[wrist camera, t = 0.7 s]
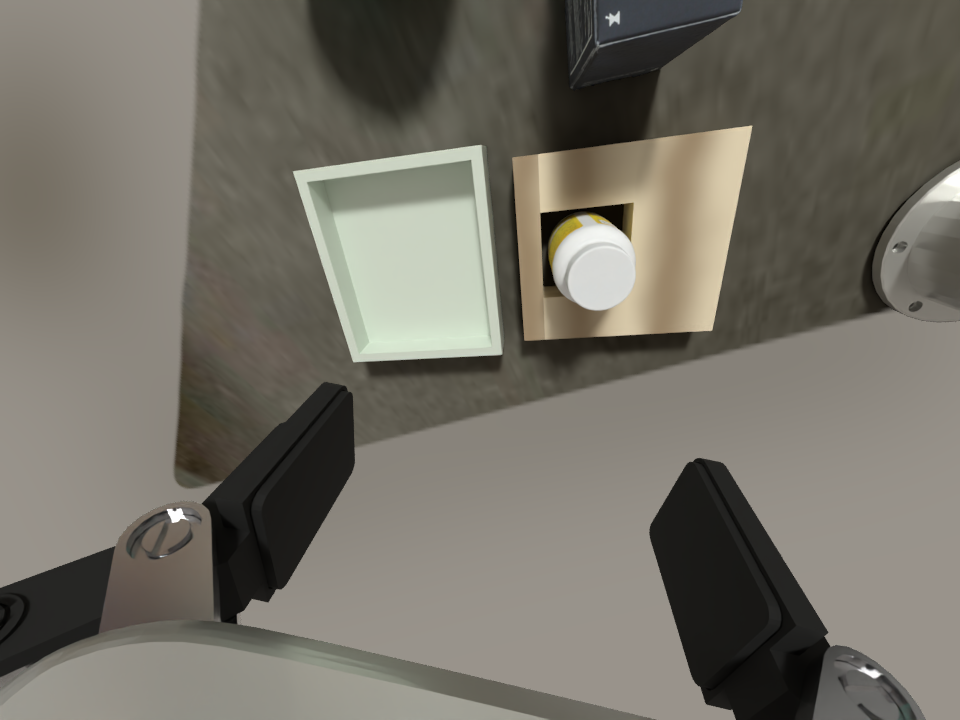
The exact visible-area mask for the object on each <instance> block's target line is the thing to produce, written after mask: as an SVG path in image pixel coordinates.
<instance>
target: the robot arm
mask: <svg viewBox="0 0 960 720" xmlns="http://www.w3.org/2000/svg"><path fill="white" fill-rule="evenodd" d="M872 280H873V283H874V286H875V289H876V292H877V294H878V295H879V296H880V298H881V299H882V301H883V302H884V303H885V304H887V305H888V306H889V307H890V308H892V309H893V310H895V311H897V312H900V313H902V314H904V315H906V316H909V317H912V318H915V319H918V320H922V321H930V322H952V321H960V161H958V162H956V163H955V164H953V165H951V166H949V167H947V168H946V169H944V170H943V171H942V172H940V173H939V174H938V175H936V176H935V177H934V178H932V179H931V180H929V181H928V182H927V183H925V184H924V185H923V186H922V187H921V188H920V189H919V190H918V191H917V192H916V193H915V194H913V195H912V196H911V197H910V198H909V199H908V200H907V201H906V203H905V204H904V205H903V206H902V207H901V208H900V210H899V211H898V212H897V213H896V214H895V215H894V217H893V218H892V220H891V221H890V223H889V225H888V226H887V228H886V229H885V231H884V232H883V234H882V236H881V239H880V241H879V243H878V246H877V248H876V251H875V255H874V260H873V264H872ZM354 464H355V453H354V419H353V395H352V393H351V392H348V391H347V388H346V386H343V385H338V384H333V383H328V382H324V383H323V384H321V385H320V387H319V388H318V389H317V390H316V391H315V392H314V393H313V394H312V395H311V396H310V397H309V398H308V399H307V400H306V401H305V402H304V403H303V404H302V405H301V406H300V408H299V409H298V410H297V411H296V412H295V413H294V414H293V415H292V416H291V417H290V418H289V419H288V420H287V421H286V422H284V423H281V424H279V425H278V426H277V427H276V428H275V429H274V430H273V431H272V432H271V433H270V434H269V435H268V436H267V437H266V438H265V439H264V440H263V441H262V442H261V443H260V444H259V445H258V446H257V447H256V448H255V449H254V450H253V451H252V452H251V453H250V454H249V455H248V456H247V457H246V458H245V459H244V460H243V462H242V463H241V464H240V465H239V466H238V467H237V468H236V469H235V470H234V471H233V472H232V473H231V474H230V475H229V476H228V477H227V478H226V479H225V480H224V481H223V482H222V483H221V484H220V485H219V486H218V487H217V488H216V489H215V490H214V492H212V493H211V495H210V496H209V497H208V498H207V499H206V500H205V501H204V502H203V503H202V504H200V503H197V502H194V501H180V502H175V503H170V504H166V505H163V506H161V507H158V508H155V509H153V510H151V511H150V512H148V513H146V514H144V515H142V516H141V517H139V518H138V519H137V520H136V521H134V522H133V523H132V524H131V525H130V526H128V527H127V529H126V530H125V531H124V532H123V534H122V535H121V536H120V537H119V539H118V542H117V544H116V546H114V547H112V548H109V549H106V550H103V551H101V552H98V553H95V554H92V555H90V556H87V557H84V558H81V559H79V560H76V561H73V562H70V563H68V564H65V565H62V566H59V567H57V568H54V569H52V570H48V571H46V572H43V573H40V574H37V575H35V576H32V577H29V578H26V579H24V580H21V581H18V582H15V583H13V584H10V585H7V586H5V587H2V588H0V720H655V719H651V718H647V717H643V716H638V715H634V714H630V713H626V712H622V711H618V710H613V709H609V708H605V707H601V706H597V705H593V704H589V703H585V702H580V701H576V700H572V699H568V698H563V697H559V696H555V695H551V694H547V693H542V692H538V691H534V690H530V689H525V688H521V687H517V686H513V685H508V684H504V683H500V682H496V681H492V680H487V679H483V678H479V677H475V676H470V675H466V674H462V673H457V672H453V671H448V670H445V669H440V668H436V667H432V666H427V665H423V664H418V663H414V662H410V661H405V660H401V659H397V658H392V657H388V656H384V655H379V654H375V653H371V652H366V651H362V650H358V649H354V648H349V647H345V646H341V645H336V644H332V643H328V642H323V641H318V640H313V639H308V638H304V637H298V636H294V635H289V634H285V633H280V632H275V631H270V630H265V629H261V628H256V627H249V626H243V625H241V617H240V616H241V615H240V612H242V611H244V610H245V608H246V607H247V605H248V604H249V602H250V601H251V599H256V600H260V601H264V602H269V600H270V599H271V597H272V595H273V594H274V592H275V590H276V589H282V588H284V586H285V585H286V584H287V582H288V581H289V579H290V577H291V576H292V574H293V572H294V571H295V569H296V567H297V565H298V564H299V562H300V560H301V559H302V557H303V555H304V554H305V552H306V550H307V548H308V547H309V545H310V543H311V541H312V540H313V538H314V536H315V535H316V533H317V531H318V530H319V528H320V526H321V524H322V523H323V521H324V520H325V518H326V516H327V514H328V513H329V511H330V509H331V508H332V506H333V504H334V502H335V501H336V499H337V497H338V496H339V494H340V492H341V490H342V489H343V487H344V485H345V484H346V482H347V480H348V479H349V477H350V475H351V473H352V471H353V468H354ZM649 533H650V539H651V543H652V546H653V549H654V553H655V556H656V559H657V562H658V566H659V569H660V573H661V576H662V579H663V582H664V586H665V589H666V592H667V596H668V599H669V603H670V605H671V609H672V612H673V615H674V619H675V622H676V625H677V629H678V632H679V636H680V639H681V642H682V646H683V649H684V652H685V656H686V659H687V662H688V666H689V669H690V672H691V675H692V678H693V680H694V682H695V683H696V684H697V685H698V686H700V687H701V690H702V693H703V696H704V700H705V703H706V704H707V705H711V706H716V707H720V708H724V709H728V710H731V709H732V710H733V712H734V715H735V718H736V720H926V719H925V717H924V715H923V713H922V712H921V710H920V708H919V706H918V705H917V703H916V702H915V701H914V699H913V698H912V697H911V695H910V694H909V693H908V692H907V690H906V689H905V688H904V687H903V686H902V685H901V684H900V683H899V682H898V681H897V680H896V679H895V678H894V677H893V676H892V675H891V674H890V673H889V672H888V671H886V670H885V669H884V668H883V667H882V666H881V665H879V664H878V663H877V662H876V661H874V660H872V659H871V658H869V657H867V656H866V655H864V654H862V653H861V652H859V651H857V650H854V649H852V648H849V647H847V646H839V645H835V646H832V647H830V645H829V643H828V642H827V640H826V639H825V637H824V636H825V635H826V634H827V633H828V631H827V629H826V628H825V626H824V625H823V623H822V621H821V620H820V618H819V617H818V615H817V613H816V612H815V610H814V608H813V607H812V605H811V604H810V602H809V600H808V599H807V597H806V595H805V594H804V592H803V591H802V589H801V587H800V586H799V584H798V582H797V581H796V579H795V578H794V576H793V574H792V573H791V571H790V569H789V568H788V566H787V565H786V563H785V562H784V560H783V558H782V557H781V555H780V553H779V552H778V550H777V548H776V547H775V546H774V544H773V542H772V541H771V539H770V537H769V536H768V534H767V532H766V531H765V529H764V527H763V526H762V524H761V523H760V521H759V519H758V518H757V516H756V514H755V513H754V511H753V510H752V508H751V507H750V505H749V503H748V501H747V500H746V498H745V497H744V495H743V493H742V492H741V490H740V489H739V487H738V485H737V484H736V482H735V481H734V479H733V477H732V476H731V474H730V472H729V471H728V469H727V468H726V466H725V465H724V464H723V463H721V462H716V461H712V460H707V459H702V458H697V459H695V460H694V461H693V462H689V463H688V464H687V465H686V466H685V468H684V469H683V471H682V473H681V475H680V476H679V478H678V480H677V481H676V483H675V485H674V486H673V488H672V490H671V491H670V493H669V495H668V496H667V498H666V500H665V502H664V503H663V505H662V507H661V508H660V510H659V512H658V513H657V515H656V517H655V518H654V520H653V522H652V523H651V526H650V532H649Z"/></svg>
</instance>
